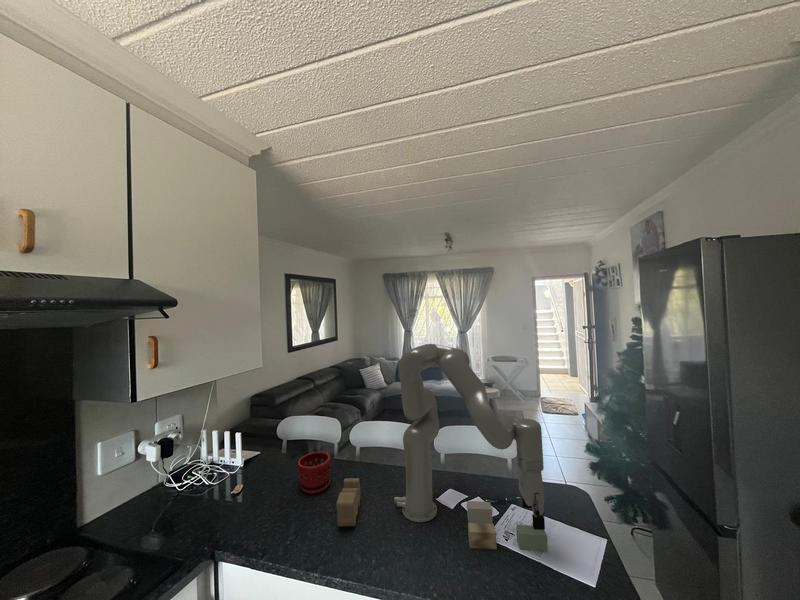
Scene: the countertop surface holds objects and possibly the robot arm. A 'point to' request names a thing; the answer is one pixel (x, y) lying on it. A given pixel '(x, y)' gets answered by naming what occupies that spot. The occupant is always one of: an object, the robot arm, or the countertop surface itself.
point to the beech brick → (482, 535)
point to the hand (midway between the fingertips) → (533, 517)
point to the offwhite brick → (479, 512)
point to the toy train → (348, 502)
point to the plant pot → (314, 472)
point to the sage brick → (531, 538)
